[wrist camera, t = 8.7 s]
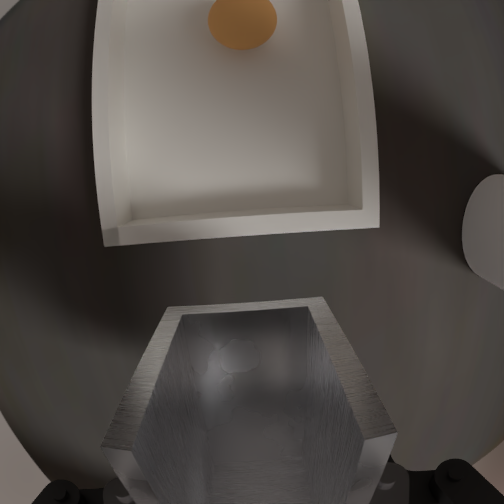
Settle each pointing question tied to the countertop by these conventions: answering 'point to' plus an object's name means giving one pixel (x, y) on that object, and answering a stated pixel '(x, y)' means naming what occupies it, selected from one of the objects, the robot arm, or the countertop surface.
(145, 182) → the tray
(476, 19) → the countertop surface
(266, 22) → the ball
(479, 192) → the cylindrical container
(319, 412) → the scoop
